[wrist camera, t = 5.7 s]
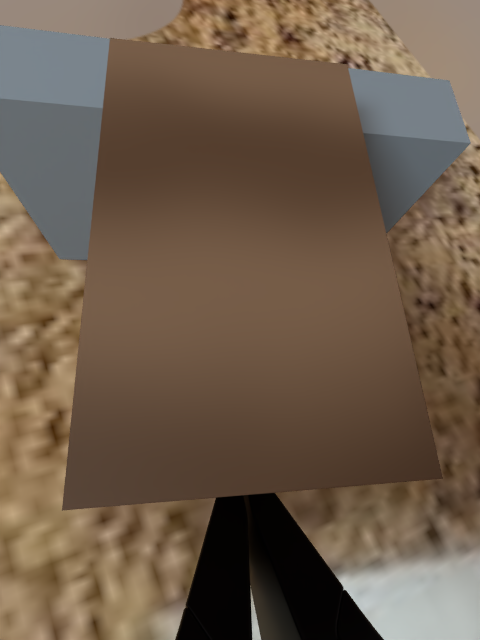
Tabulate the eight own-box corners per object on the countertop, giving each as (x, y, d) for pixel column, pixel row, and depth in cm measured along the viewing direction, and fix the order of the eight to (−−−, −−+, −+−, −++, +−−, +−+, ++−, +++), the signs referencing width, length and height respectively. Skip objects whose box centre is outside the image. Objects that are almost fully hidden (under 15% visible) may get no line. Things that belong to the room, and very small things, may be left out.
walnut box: (280, 458, 16) (442, 478, 6) (146, 467, 15) (62, 510, 5) (263, 265, 19) (347, 64, 9) (152, 263, 18) (109, 38, 8)
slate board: (353, 269, 20) (470, 143, 12) (59, 259, 18) (-53, 93, 9) (345, 225, 21) (449, 80, 13) (67, 210, 19) (-29, 21, 10)
